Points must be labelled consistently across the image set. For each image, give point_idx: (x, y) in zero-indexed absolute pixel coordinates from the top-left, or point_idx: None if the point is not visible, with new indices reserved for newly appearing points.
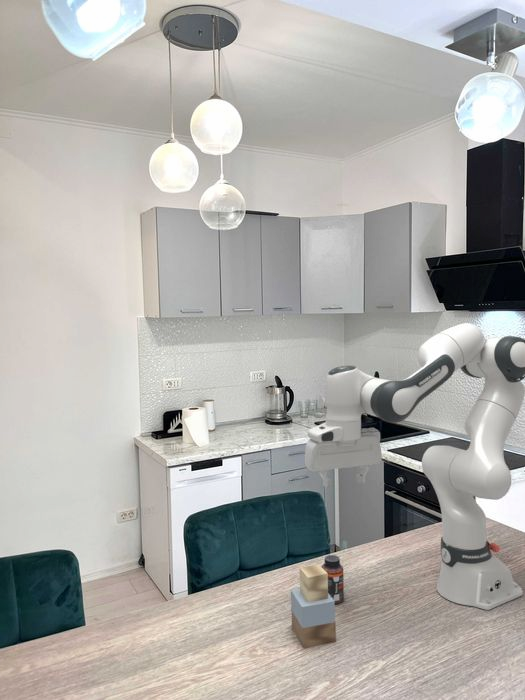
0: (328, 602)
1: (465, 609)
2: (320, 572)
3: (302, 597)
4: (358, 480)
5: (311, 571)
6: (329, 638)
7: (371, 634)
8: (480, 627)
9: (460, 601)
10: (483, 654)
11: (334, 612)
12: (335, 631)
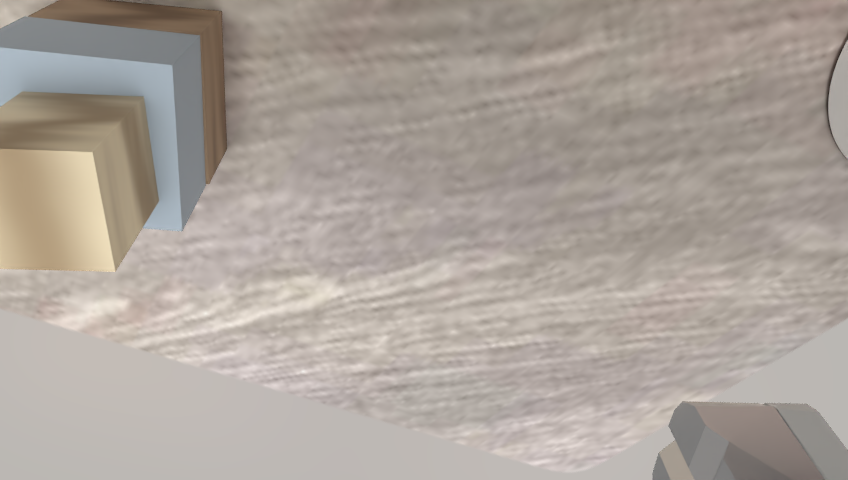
0: (149, 228)
1: (820, 172)
2: (74, 246)
3: None
4: (686, 461)
5: (19, 215)
6: None
7: (380, 163)
8: (754, 271)
9: (845, 145)
10: (634, 363)
11: (194, 204)
12: (217, 165)
